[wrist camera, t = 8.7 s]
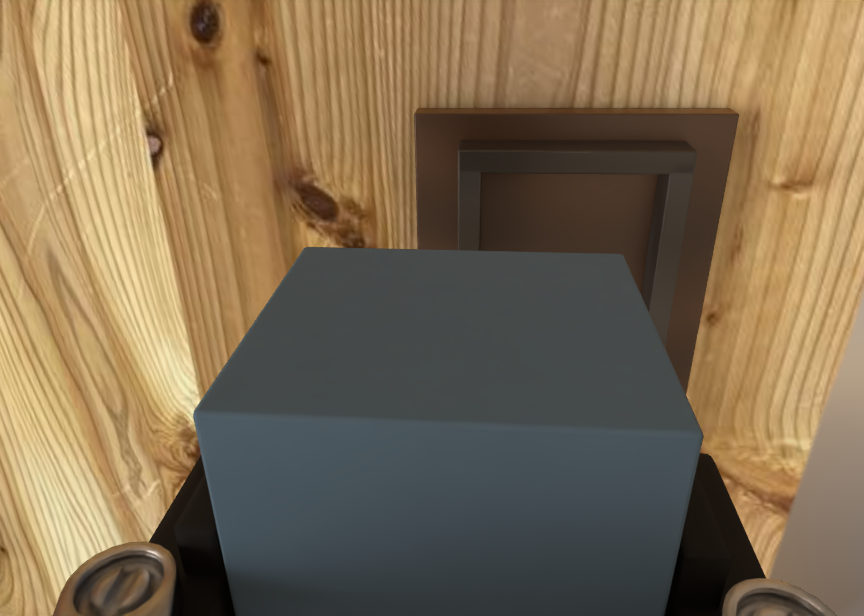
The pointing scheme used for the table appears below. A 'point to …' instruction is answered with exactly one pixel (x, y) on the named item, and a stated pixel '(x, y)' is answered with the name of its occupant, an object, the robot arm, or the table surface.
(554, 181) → the backing board
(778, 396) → the table surface
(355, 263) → the blue-grey rectangular block
